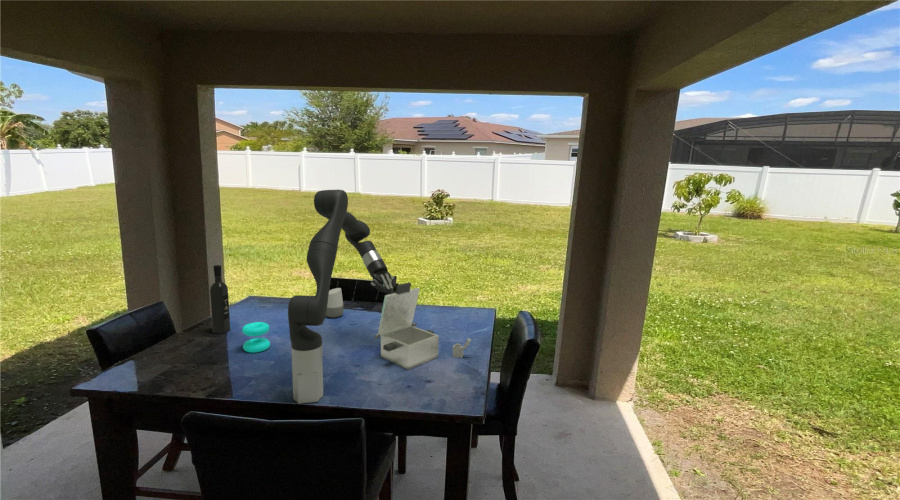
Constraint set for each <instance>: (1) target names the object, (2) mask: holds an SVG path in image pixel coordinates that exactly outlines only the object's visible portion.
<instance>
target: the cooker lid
mask: <svg viewBox="0 0 900 500" xmlns="http://www.w3.org/2000/svg"><path fill="white" fill-rule="evenodd" d="M396 286H397V287H396V291H395V293H393V294H389V295H387V294H385V295H384V299H383V304H382V308H381V309H382V310H381V315H380V321H379V326H378V331H377V334H379V335H380V336H381V335H383V334H386V333H389V332H392V331H395V330H398V329H401V328H405V327H408V326H412V323H414V322H413V320H414V317H415V312H416V308H417V302H418V298H419V293H420V288H419V287H415V288H411V287H412V283H411V282H404V283H400V284H397V285H396Z"/></svg>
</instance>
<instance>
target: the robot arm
mask: <svg viewBox="0 0 900 500" xmlns="http://www.w3.org/2000/svg"><path fill="white" fill-rule="evenodd" d="M313 204H314V205H313V206H314V209H315V211H316V212H317V214H318V215H320V216H322V217H324V218H326V219H328V220H327V222H326V223H325V224H324V225H323V226H322V227H321V228H320V229H319V230H318V231H317V232H316V233H315V234H314V236H313V237H312V238H311V240H310V242H309V245H308V250H307V253H306V263H307V266H308V268H309V270H310V272H311V274H312V276H313V279H314V281H315V284H316V293H315V295H301V294H300V295H299V294H298V295H293V296H292V297H291V298H290V299H289V302H288V306H287V316H288V317H287V319H288V321H287V322H288V331H289V340H290V345H291V370H292V371H291V372H292V377H291V378H292V398H293V400H294V401H295V402H296V403H297V404H298V405H301V404H308V403H316V402H319V401H320V399H321V398H323V396H324V377H323V376H324V373H323V370H324V367H323V365H324V364H323V362H324V361H323V338H322V335H321V334H320V333H318V332H316V331H314V330H312V329H310V328H309V327H307V326H311V327H312V326H313V327H317V326H318V327H319V326H321V325H323V323H324V322H325V319H326V317H327V316H326V312H327V304H328V296H329V291H330V286H331V280H332V275H333V270H334V266H335V263H336V262H335V261H336V258H337V253H338V248H339V247H338V246H339V240H340V237H341V232H342V231H343V232H344V236H345V237H344V238H345V239H346V240H347V241H348V242H349V243H350V244H351V246H353V247H354V248H355V249H356V251H357V252H358V254H359V256H360V258H361V259H362V261H363V264H364V267H365V268H366V270H367V272H368V274H369V275H370V277H371V278H372V281H371V282H370V284H369V285H370V286H371V287H373V288H375V290H377V291H379V292H381V293H386V295H389V294H393V293H396V291H395V290H394V289H395V288H396V286H397V279H398V278H397V275H394V276H393V275H391V273H390V272H389V271H388V267H387V264H386V263H385V261H384V259H383V258H382V256H381V254H380V253H379V251H378V250H377V248H376V247H375V245H374V243H373V242H372V241H371V240H365V239H367V238H368V237H369V235H370V233H371V230H370V229H371V228H370V227H369V225H368V224H366V222H364V221H362V220H359V219H357V217H355V215H354V214H352V213H351V212H349V211H348V206H349V197H348V194H347V192H346V191H345V190H344V189H323V190H318V191H316V193H315V195H314V197H313Z"/></svg>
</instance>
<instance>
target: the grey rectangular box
mask: <svg viewBox="0 0 900 500" xmlns="http://www.w3.org/2000/svg"><path fill="white" fill-rule="evenodd" d="M417 324H418V323H417V322H412V325H410V326H407V327H404V328H401V329H398V330H395V331H391V332H388V333H385V334H382V335H379V334H378V333H377V334H375V335H374V336H373V337H374V339H379V338H380V358H383V359H384V360H387V361H389V362H392V363H393V364H395V365H397V366H399V367H402V368H404V369H405V370H406V369H407V370H411V369H413V368H415V367H417V366H420V365H423V364H426V363H428V362H429V361H432V360H435V359H437V358H439V345H440V344H439V341H440V340H439V337H440V336H439V335H438V334H436V333H435V332H434V331H433V330H431V329H428V330H425V329H422V328H419V327H417Z"/></svg>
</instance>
